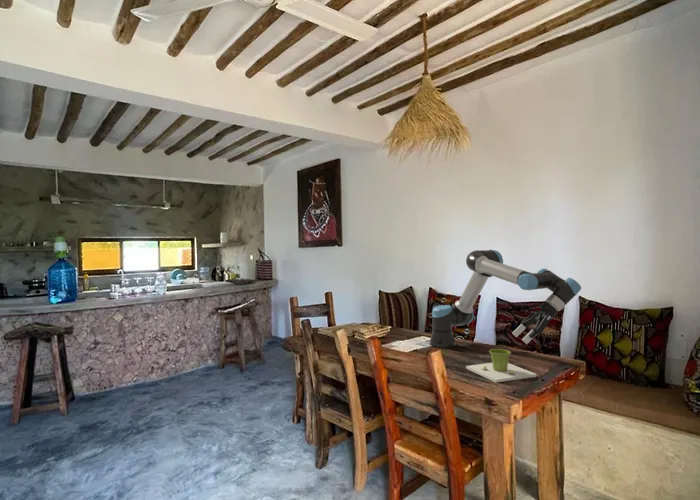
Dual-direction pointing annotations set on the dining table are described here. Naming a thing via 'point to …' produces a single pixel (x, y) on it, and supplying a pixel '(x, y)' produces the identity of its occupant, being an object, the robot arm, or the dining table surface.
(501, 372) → the pin board
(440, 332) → the robot arm
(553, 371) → the dining table surface
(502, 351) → the plant pot
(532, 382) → the dining table surface
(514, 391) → the dining table surface
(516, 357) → the dining table surface
